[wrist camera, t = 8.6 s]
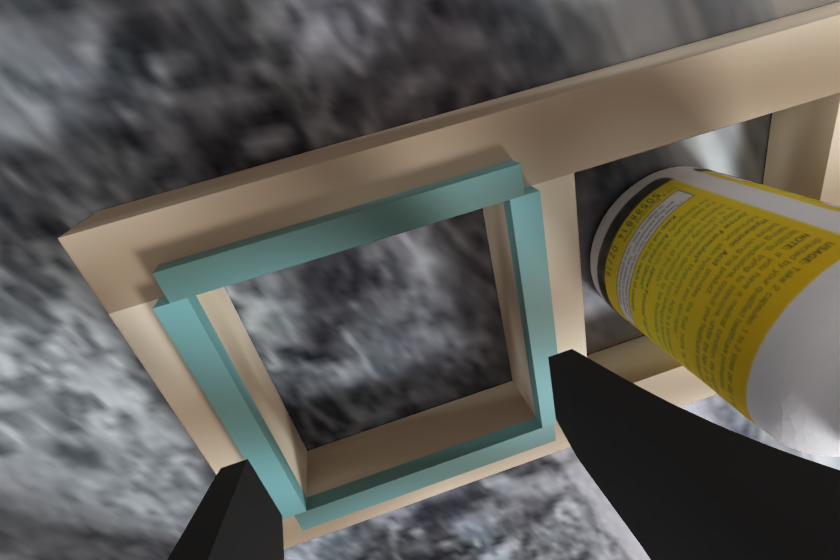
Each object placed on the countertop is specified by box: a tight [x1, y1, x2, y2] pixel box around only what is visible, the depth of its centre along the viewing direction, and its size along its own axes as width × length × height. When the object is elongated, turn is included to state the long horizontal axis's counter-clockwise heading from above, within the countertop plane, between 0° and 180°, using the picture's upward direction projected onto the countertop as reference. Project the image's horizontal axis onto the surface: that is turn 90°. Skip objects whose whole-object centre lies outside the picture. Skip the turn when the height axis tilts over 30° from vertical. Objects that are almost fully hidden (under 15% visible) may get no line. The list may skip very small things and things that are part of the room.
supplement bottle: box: [590, 166, 840, 457], centre depth 11 cm, size 5×5×10 cm
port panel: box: [58, 1, 840, 549], centre depth 14 cm, size 12×22×2 cm, turn 104°
